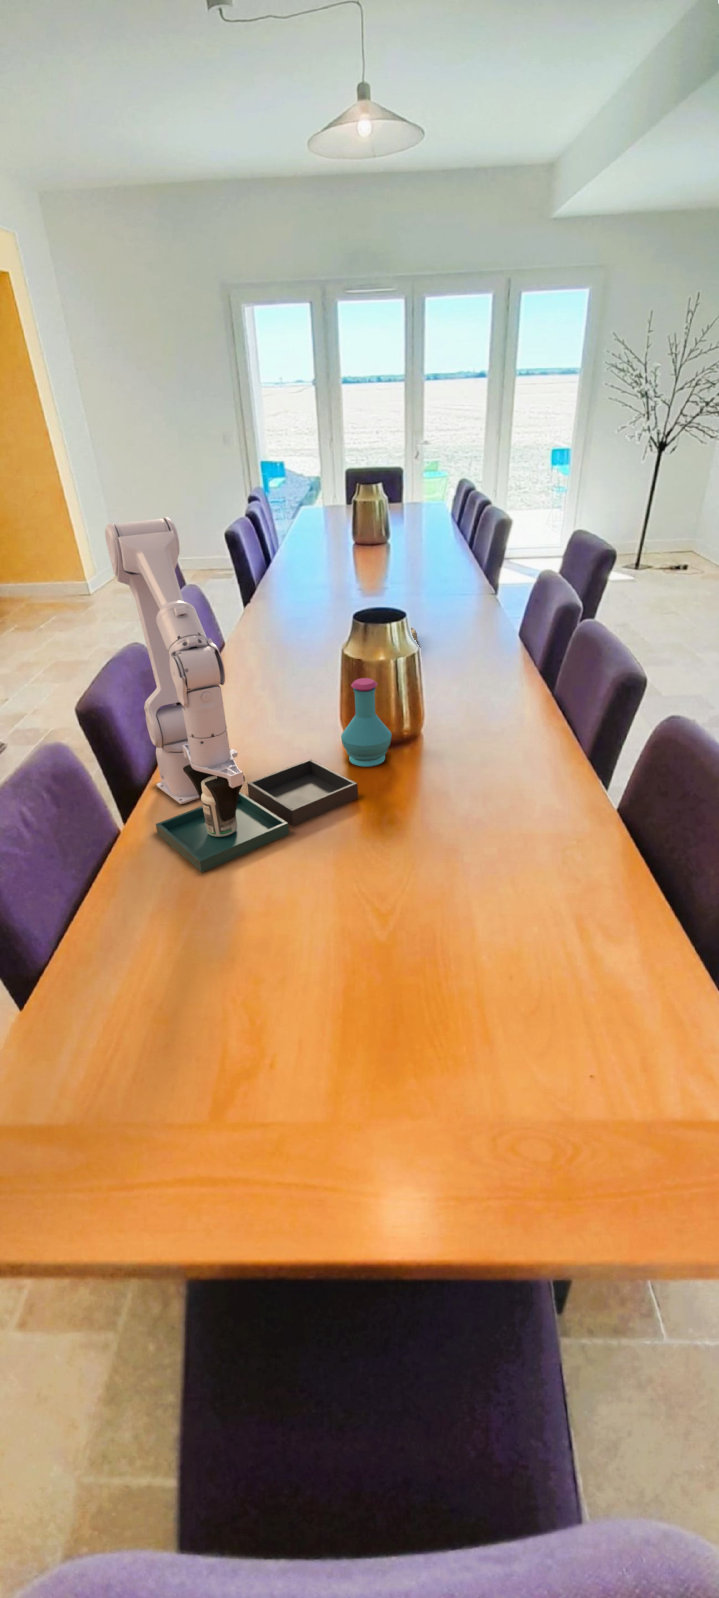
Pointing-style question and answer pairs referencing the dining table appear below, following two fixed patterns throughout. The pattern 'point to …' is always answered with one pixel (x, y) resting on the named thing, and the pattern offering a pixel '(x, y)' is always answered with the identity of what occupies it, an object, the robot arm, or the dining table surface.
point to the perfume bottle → (365, 728)
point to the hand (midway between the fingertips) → (219, 812)
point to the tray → (212, 851)
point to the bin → (302, 791)
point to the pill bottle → (215, 814)
